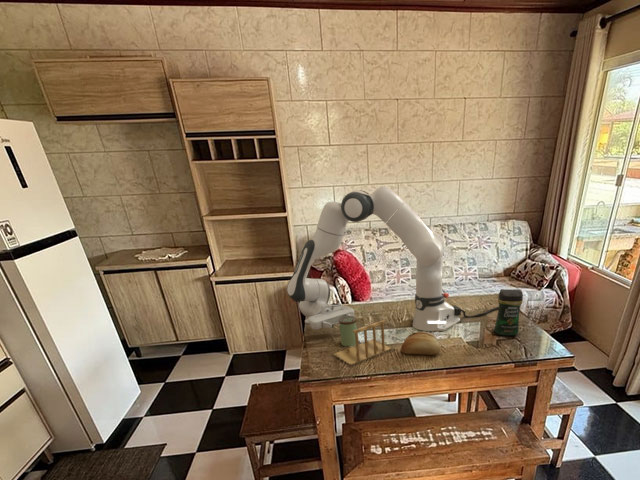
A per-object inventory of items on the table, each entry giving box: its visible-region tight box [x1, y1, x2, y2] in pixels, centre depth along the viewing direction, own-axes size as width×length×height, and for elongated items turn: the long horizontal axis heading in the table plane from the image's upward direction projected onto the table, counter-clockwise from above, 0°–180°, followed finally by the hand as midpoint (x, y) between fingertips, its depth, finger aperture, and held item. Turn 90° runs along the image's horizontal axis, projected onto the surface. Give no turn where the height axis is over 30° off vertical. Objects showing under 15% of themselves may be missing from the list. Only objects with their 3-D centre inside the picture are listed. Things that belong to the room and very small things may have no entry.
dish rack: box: [333, 319, 392, 365], centre depth 156 cm, size 20×12×13 cm, turn 130°
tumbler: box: [338, 316, 358, 347], centre depth 163 cm, size 7×7×11 cm
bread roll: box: [400, 331, 442, 356], centre depth 155 cm, size 10×15×8 cm, turn 87°
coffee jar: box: [494, 288, 524, 337], centre depth 166 cm, size 10×8×19 cm
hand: (342, 323), depth 165 cm, fingers open, 8 cm apart
